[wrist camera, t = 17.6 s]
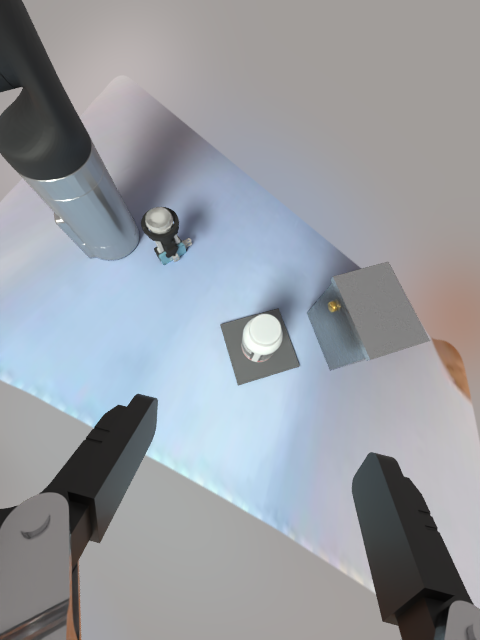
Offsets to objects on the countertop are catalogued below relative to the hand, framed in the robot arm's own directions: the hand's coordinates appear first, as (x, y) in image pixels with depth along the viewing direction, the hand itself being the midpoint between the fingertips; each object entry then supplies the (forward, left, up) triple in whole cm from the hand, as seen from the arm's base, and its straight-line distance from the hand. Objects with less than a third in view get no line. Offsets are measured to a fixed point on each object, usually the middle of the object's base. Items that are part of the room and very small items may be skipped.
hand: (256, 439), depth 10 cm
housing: (+19, +7, -31) cm, 37 cm away
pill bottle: (+6, +9, -30) cm, 32 cm away
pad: (+6, +9, -31) cm, 32 cm away
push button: (-3, +29, -31) cm, 42 cm away
